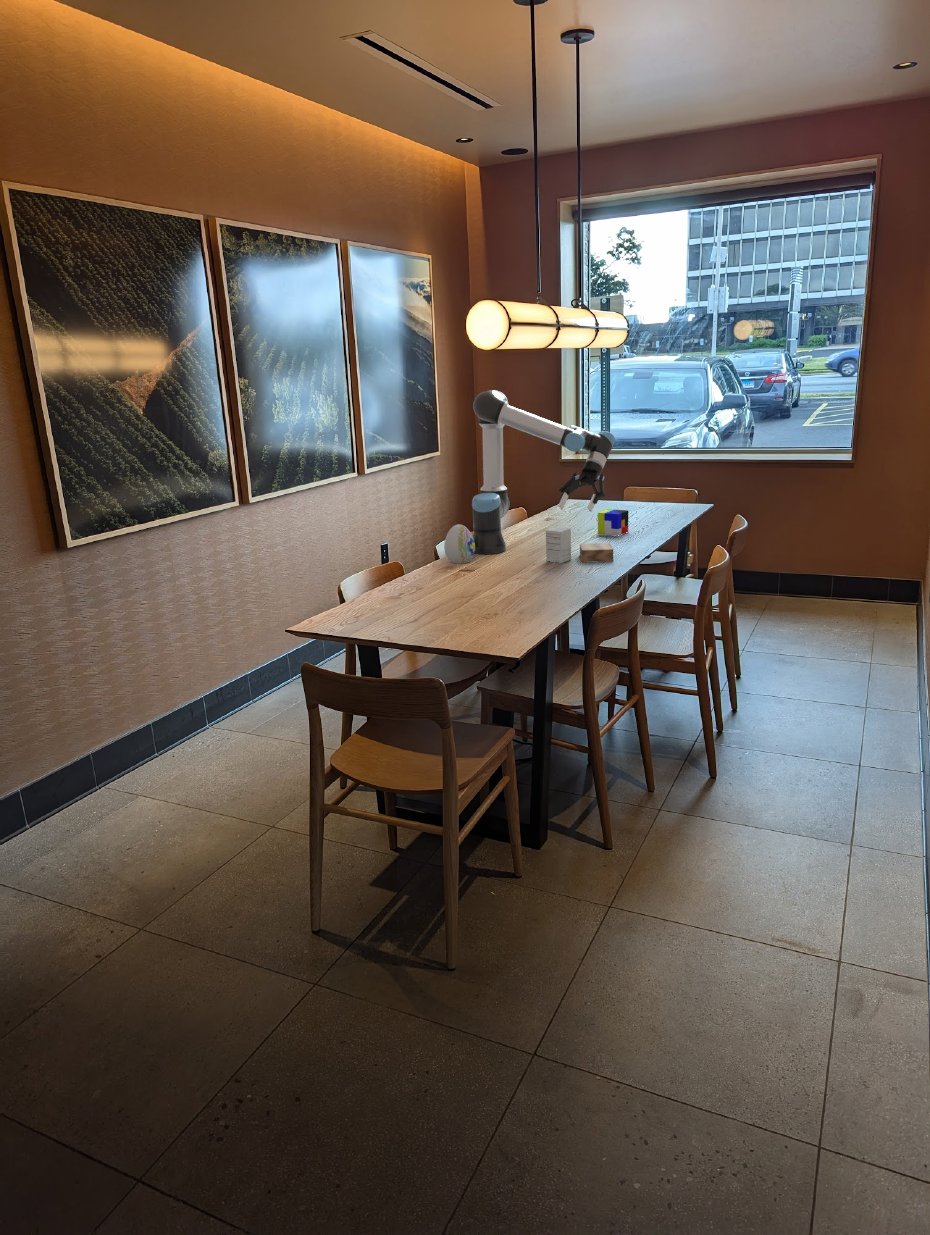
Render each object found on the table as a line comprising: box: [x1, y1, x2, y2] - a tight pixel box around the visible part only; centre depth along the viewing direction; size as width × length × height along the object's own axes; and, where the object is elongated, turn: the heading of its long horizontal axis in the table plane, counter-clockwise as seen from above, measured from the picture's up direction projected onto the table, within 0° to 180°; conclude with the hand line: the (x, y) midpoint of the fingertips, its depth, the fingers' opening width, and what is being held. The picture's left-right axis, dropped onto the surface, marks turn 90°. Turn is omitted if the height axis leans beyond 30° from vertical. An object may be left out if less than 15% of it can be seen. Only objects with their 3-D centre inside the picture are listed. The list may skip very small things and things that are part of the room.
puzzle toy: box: [597, 508, 629, 537], centre depth 375 cm, size 10×10×10 cm
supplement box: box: [545, 526, 572, 564], centre depth 329 cm, size 7×7×13 cm
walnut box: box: [579, 542, 614, 563], centre depth 331 cm, size 12×12×5 cm
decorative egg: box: [443, 523, 475, 564], centre depth 335 cm, size 12×12×15 cm
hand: (574, 508), depth 333 cm, fingers open, 13 cm apart
